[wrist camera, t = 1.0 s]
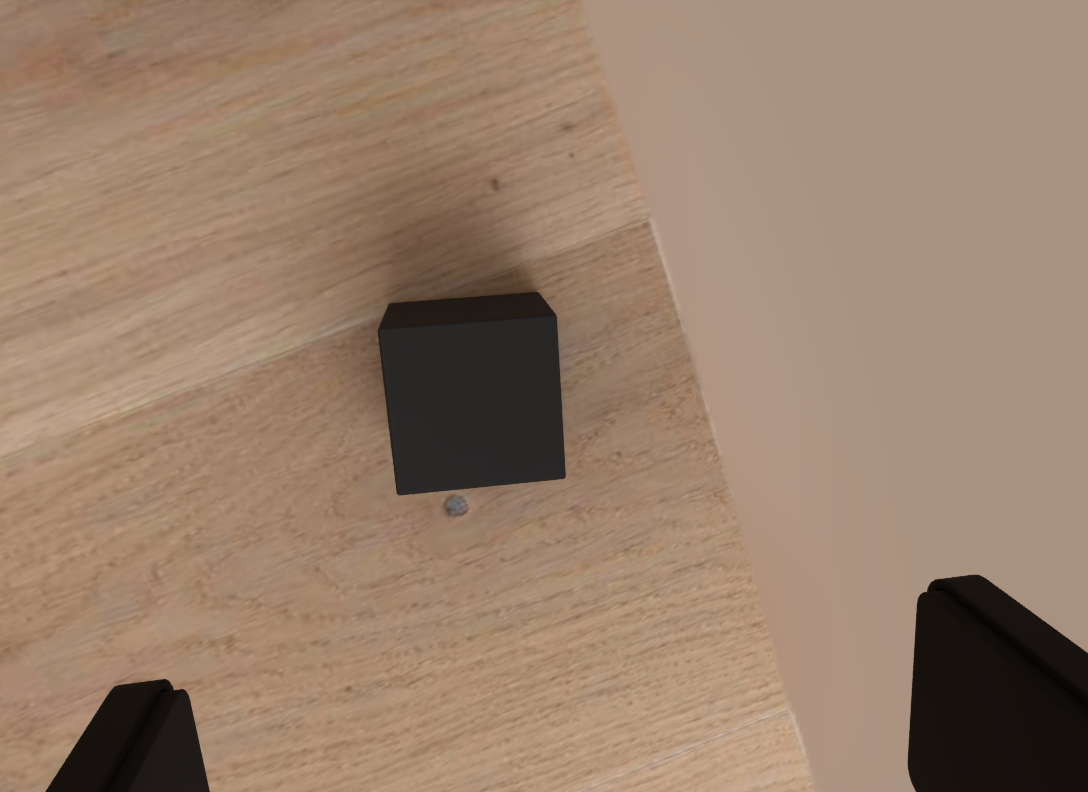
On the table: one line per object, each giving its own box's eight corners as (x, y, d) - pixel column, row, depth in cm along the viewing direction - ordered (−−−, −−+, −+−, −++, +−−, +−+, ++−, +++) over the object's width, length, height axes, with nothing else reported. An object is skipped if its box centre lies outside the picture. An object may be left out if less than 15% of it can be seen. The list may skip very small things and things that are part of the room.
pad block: (387, 303, 24) (377, 328, 20) (539, 291, 24) (557, 314, 21) (403, 447, 25) (397, 496, 21) (548, 433, 26) (566, 479, 22)
